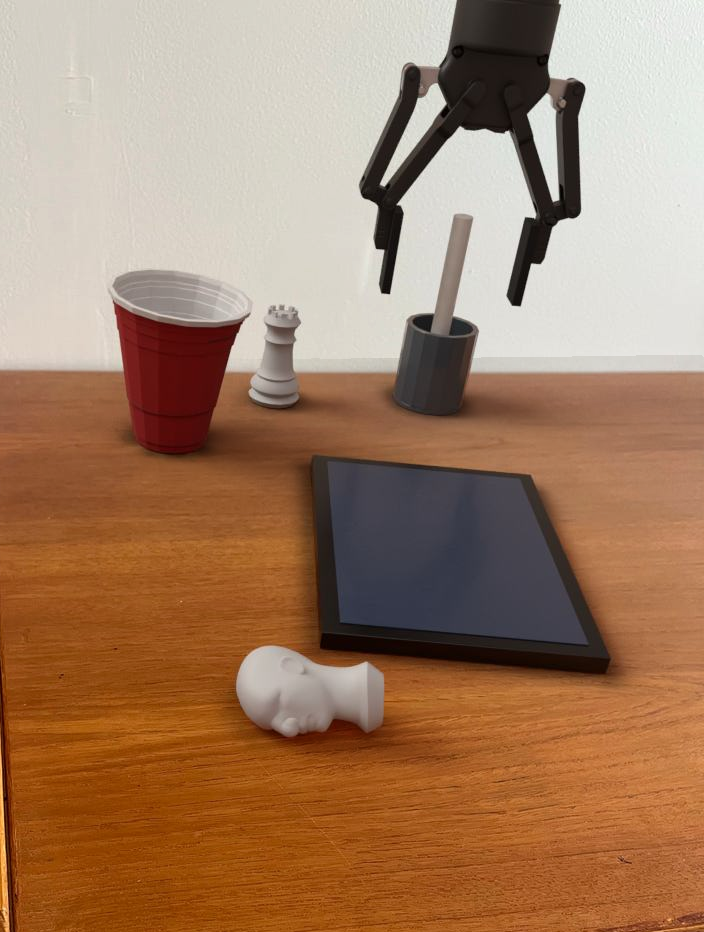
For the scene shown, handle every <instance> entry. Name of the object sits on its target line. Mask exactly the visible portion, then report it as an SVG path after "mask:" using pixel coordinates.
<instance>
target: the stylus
mask: <svg viewBox="0 0 704 932" xmlns="http://www.w3.org/2000/svg"><path fill="white" fill-rule="evenodd" d="M473 222H474V216H472V215H471V214H468V213H454V214H453V218H452V223H451V227H450V232H449V237H448V242H447V247H446V251H445V252H446V253H445V256H444V257H445V258H444V263H443V268H442V273H441V278H440V283H439V287H438V292H437V296H436V297H437V298H436V303H435V307H434V312H433V313H434V318H433V323H432V328H431V333H435V334H439V335H449V332H450V327H451V323H452V318H453V316H454V313H455V308H456V304H457V299H458V298H457V297H458V294H459V290H460V289H459V288H460V284H461V280H462V274H463V270H464V265H465V260H466V255H467V251H468V245H469V241H470V236H471V231H472V226H473Z"/></svg>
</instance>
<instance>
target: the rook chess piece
mask: <svg viewBox="0 0 704 932" xmlns="http://www.w3.org/2000/svg"><path fill="white" fill-rule="evenodd" d="M285 306H286V304H282V303H281V304H280V303H279V304H278V309H276V308H277V305H276V304H271V305H270V306H269V307H268V309H267V313H266V314H265V315H264V316H263V317H262V321H263V323H264V324H265V327H266V328H267V329H266V332H265V334H264V335H263V339H264V341H265V342H264V351H263V353H262V357H261V362H260V364H259V367H258V368H257V369H256V373H255V374H254V375H253V376H252V377H251V379H250V381H249V382H250V386H251V388H250V389H249V390H248V396H249V397H250V399H251V401H252V402H254V403H255V404H257V405H258V406H261V407H265V408H268V409H287V408H290V407H292V406H293V405H295V403H297V401H298V400H299V399H300V396H299V393H297V392H298V390H299V389H300V383H299V380H298V379H297V377H296V376H297V374H296V371H295V370H294V345H295V343H296V342H297V338H296V335H295V333H296V330H297V329H298V328H299V326H300V325H301V324H302V320H301V319H300V318H299V309H297V308H296V307H295V306H293V305H289V306H288V309H287V310H286V309H285Z"/></svg>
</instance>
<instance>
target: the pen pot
mask: <svg viewBox="0 0 704 932" xmlns="http://www.w3.org/2000/svg"><path fill="white" fill-rule="evenodd" d="M434 313H435V312H423V313H416V314H412V315H410V316H408V318H407V319H406V321H405V326H404V332H403V336H402V342H401V348H400V352H399V358H398V364H397V368H396V373H395V374H396V375H395V380H394V385H393V393H392V394H393V395H392V398H393V401H394V402H395V403H396V404H398V406H400V407H402V408H404V409H406V410H408V411H411V412H415V413H418V414H424V415H431V416H446V415H452V414H456V413H458V412H459V411H461V409H462V406H463V403H464V401H465V400H464V399H465V397H466V391H467V386H468V383H469V378H470V374H471V369H472V365H473V360H474V355H475V352H476V346H477V343H478V339H479V333H480V330H479V327H478V326H477V325H476V324H474V323H473V322H471V321H470V320H467V319H465V318H462V317H458V316H454V315H453V318H452V323H451V327H450V332H449V335H439V334H435V333H431V328H432V323H433V318H434Z"/></svg>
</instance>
